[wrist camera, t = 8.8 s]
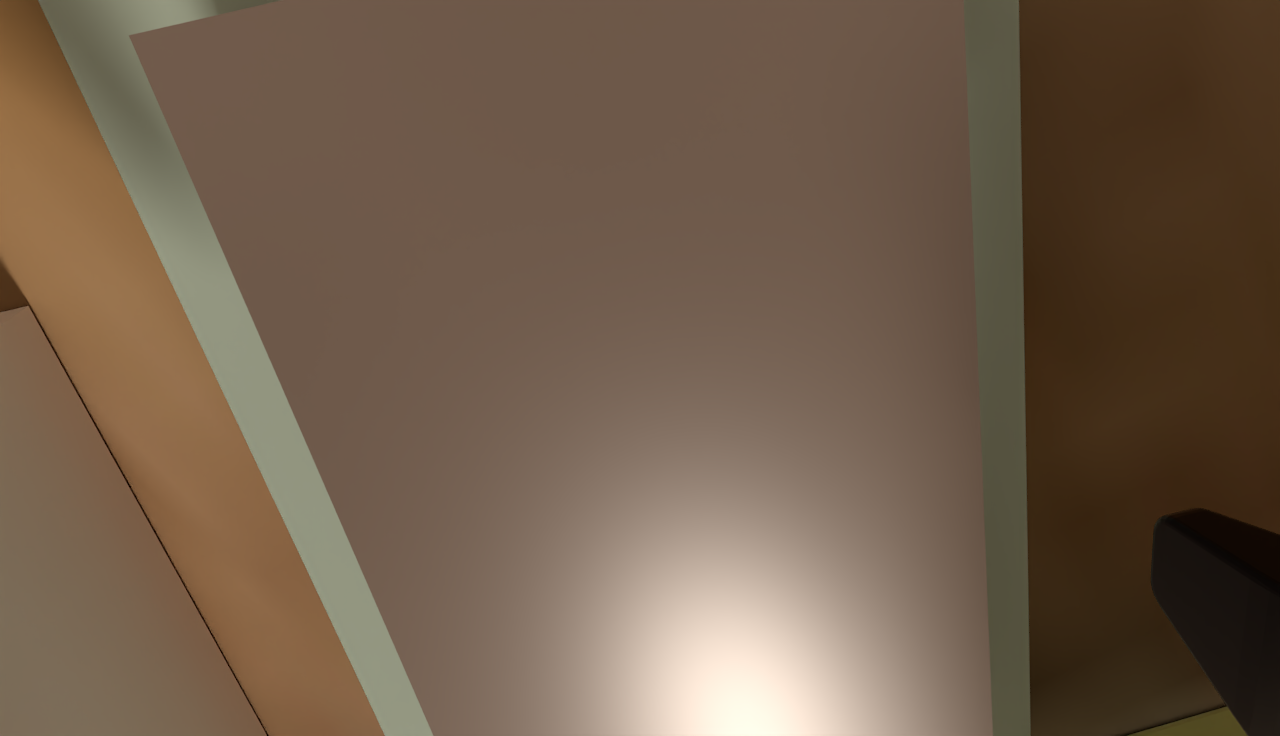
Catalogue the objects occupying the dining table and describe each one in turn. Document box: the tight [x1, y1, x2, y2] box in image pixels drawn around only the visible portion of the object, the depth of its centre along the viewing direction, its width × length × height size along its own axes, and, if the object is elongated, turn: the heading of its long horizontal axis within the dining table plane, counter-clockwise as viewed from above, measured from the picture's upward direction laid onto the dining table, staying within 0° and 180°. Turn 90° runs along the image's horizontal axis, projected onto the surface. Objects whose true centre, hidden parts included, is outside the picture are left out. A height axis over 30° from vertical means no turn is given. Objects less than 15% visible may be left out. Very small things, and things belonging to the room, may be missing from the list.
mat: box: [38, 0, 1031, 736], centre depth 13 cm, size 11×16×1 cm
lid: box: [129, 0, 993, 736], centre depth 12 cm, size 7×13×2 cm, turn 11°
